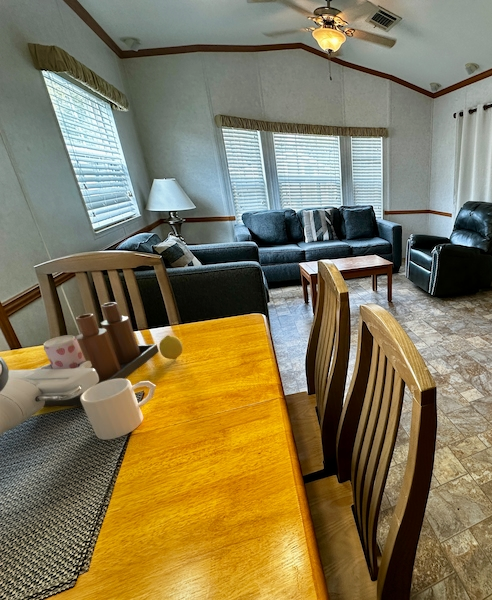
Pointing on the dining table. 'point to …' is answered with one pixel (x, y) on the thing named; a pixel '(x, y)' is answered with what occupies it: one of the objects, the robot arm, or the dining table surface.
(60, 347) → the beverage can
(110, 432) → the mug
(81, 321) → the bottle middle
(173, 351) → the lemon
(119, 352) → the bottle back
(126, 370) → the tray
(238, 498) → the dining table surface
